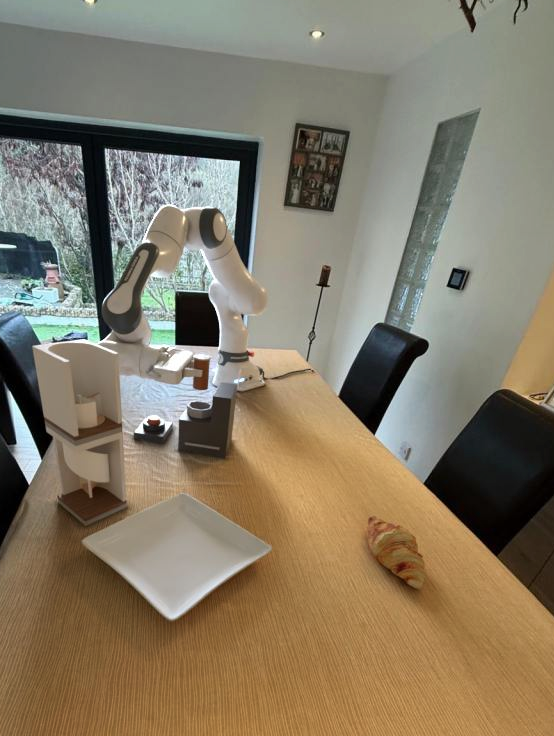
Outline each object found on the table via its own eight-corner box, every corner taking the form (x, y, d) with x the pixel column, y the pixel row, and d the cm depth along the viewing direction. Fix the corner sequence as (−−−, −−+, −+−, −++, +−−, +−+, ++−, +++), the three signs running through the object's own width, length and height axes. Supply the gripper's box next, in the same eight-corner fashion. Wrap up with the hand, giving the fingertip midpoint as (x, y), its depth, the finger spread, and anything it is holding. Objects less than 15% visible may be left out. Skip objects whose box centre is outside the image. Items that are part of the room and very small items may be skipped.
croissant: (424, 603, 83) (455, 577, 80) (392, 591, 79) (423, 563, 75) (374, 534, 100) (397, 510, 97) (345, 521, 95) (369, 496, 92)
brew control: (145, 424, 134) (145, 412, 131) (172, 428, 133) (172, 416, 131) (133, 439, 124) (133, 426, 122) (163, 443, 124) (163, 431, 121)
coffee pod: (206, 384, 118) (208, 354, 113) (210, 390, 114) (212, 359, 109) (190, 384, 116) (191, 354, 112) (194, 390, 113) (195, 359, 108)
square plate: (272, 560, 85) (275, 546, 83) (170, 637, 68) (171, 621, 65) (183, 502, 99) (183, 488, 97) (80, 553, 82) (78, 537, 80)
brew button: (149, 419, 128) (149, 414, 127) (161, 421, 128) (161, 416, 127) (146, 424, 125) (146, 419, 124) (157, 426, 125) (157, 420, 124)
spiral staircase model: (58, 502, 95) (32, 345, 76) (98, 486, 102) (84, 339, 82) (85, 525, 89) (64, 361, 70) (126, 507, 96) (118, 353, 76)
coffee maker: (187, 434, 130) (189, 377, 120) (231, 440, 129) (237, 384, 119) (177, 451, 120) (179, 391, 110) (225, 459, 119) (231, 399, 109)
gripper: (142, 361, 103) (197, 369, 102) (165, 342, 120) (212, 349, 119) (143, 386, 107) (195, 394, 105) (165, 364, 124) (210, 371, 122)
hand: (204, 370), depth 112 cm, fingers closed on coffee pod, 4 cm apart
